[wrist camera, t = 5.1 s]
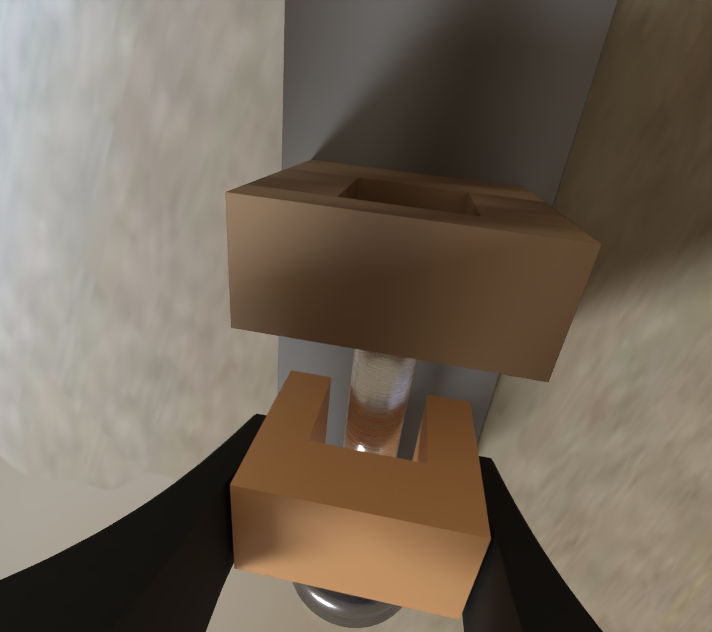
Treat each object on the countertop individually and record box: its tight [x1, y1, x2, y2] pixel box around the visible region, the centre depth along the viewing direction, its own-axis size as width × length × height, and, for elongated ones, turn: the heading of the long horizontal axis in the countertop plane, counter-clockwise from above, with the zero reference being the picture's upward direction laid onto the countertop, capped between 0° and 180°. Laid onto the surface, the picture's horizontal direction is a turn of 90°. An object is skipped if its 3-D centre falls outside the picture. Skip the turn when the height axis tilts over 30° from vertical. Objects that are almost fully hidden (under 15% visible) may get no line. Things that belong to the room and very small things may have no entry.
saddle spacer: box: [230, 370, 491, 619], centre depth 11 cm, size 6×3×4 cm, turn 84°
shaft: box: [293, 349, 416, 628], centre depth 14 cm, size 5×12×5 cm, turn 174°
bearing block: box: [225, 0, 618, 461], centre depth 12 cm, size 9×18×7 cm, turn 174°
